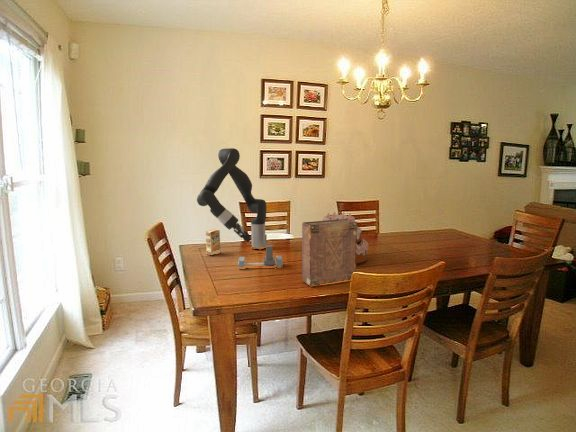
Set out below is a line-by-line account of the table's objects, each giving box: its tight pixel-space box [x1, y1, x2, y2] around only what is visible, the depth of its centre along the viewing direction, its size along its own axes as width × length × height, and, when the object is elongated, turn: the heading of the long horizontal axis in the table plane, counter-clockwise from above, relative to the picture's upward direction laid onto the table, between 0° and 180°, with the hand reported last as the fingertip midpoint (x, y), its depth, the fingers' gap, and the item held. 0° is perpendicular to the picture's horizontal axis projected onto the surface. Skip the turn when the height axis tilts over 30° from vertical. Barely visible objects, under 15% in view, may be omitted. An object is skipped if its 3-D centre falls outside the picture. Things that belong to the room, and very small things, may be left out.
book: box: [301, 219, 358, 286], centre depth 181 cm, size 25×9×30 cm, turn 114°
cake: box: [322, 211, 369, 266], centre depth 221 cm, size 35×35×28 cm
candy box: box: [205, 228, 221, 252], centre depth 231 cm, size 9×4×15 cm, turn 150°
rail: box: [237, 255, 284, 268], centre depth 206 cm, size 25×8×5 cm, turn 96°
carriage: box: [263, 244, 276, 266], centre depth 206 cm, size 6×6×11 cm
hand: (249, 239), depth 203 cm, fingers open, 8 cm apart
